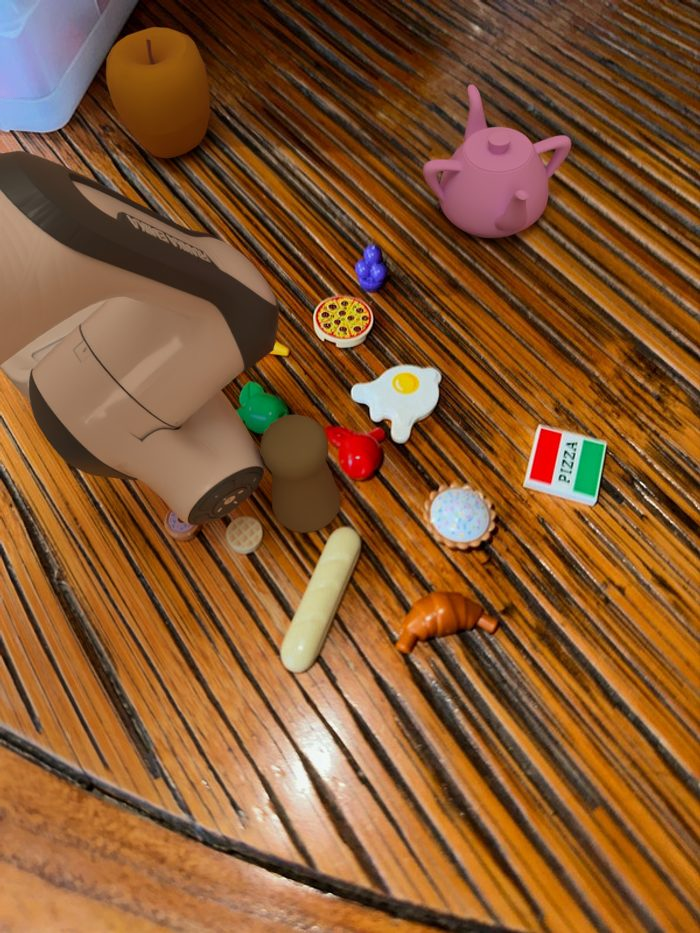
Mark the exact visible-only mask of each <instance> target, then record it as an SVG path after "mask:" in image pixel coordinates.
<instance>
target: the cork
mask: <svg viewBox="0 0 700 933" xmlns="http://www.w3.org/2000/svg"><path fill="white" fill-rule="evenodd" d="M328 454H329V440H328V437H327V434H326V432H325V430H324V428H323V427H322V426H321V425H320V424H319V423H318V422H317V421H316V420H315V419H312V418H311V417H309V416H306V415H301V414H286V415H283V416H280V417H278V418H277V419H275V420H274V421H272V422H271V423H270V424H269V425H268V426H267V427H266V429H265V430H264V432H263V434H262V436H261V440H260V456H261V458H262V460H263V464H264V466H265V467H266V468H267V469H268V470H269V471H270V472H271V509H272V511H273V514H274V517H275V519H276V520H277V521H278V522H279V524H280V525H281V526H283V527H285V529H288V530H289V531H293V532H297V533H301V534H302V533H305V534H306V533H313V532H316V531H317V532H318V531H319V530H322V529H324V528H325V527H327V526H328V525H330V524H331V523H332V522H333V521H334V520H335V518H336V516H337V515H338V513H339V511H340V507H341V493H340V490H339V488H338V486H337V483H336V481H335V478H334V476H333V474H332V472H331V469H330V468H329V465H328V463H327V457H328Z"/></svg>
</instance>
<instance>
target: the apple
mask: <svg viewBox="0 0 700 933" xmlns="http://www.w3.org/2000/svg"><path fill="white" fill-rule="evenodd" d="M207 74H208V73H207V68H206V65H205V63H204V61H203V58H202V55H201V54H200V51H199V49H198V47H197V45H196V43H195V41H194V40H193V39H192V38H191V37H190V36H189V35H188V34H186V33H183V32H180V31H178V30H175V29H171V28H169V27H158V26H153V27H149V28H145V29H142V30H139V31H136V32H133V33H131V34H127V35H126V36H124V37H123V38H121V39H120V40H119V41H117V42H116V43H115V44H114V45H113V46H112V48H111V50H110V51H109V53H108V55H107V57H106V67H105V77H106V78H105V79H106V86H107V89H108V91H109V95H110V98H111V102H112V105H113V107H114V109H115V111H116V112H117V115H118V116H119V118H120V120H121V121H122V123H123V124H124V125H125V127H126V128H127V130H129V132H130V133H131V135H132V136H133V137H134V138H135V139H136V141H137V142H138V143H139V144H140V146H141V147H143V148H144V149H145V150H147V151H148V152H149V153H150V154H151V155H152V156H153V157H155V158H162V159H173V158H177V157H179V156H183V155H185V154H187V153H189V152H190V151H192V150H194V149H195V148H196V147H197V146H199V145H200V144H201V143H202V141H203V140H204V137H205V136H206V134H207V130H208V125H209V120H210V115H211V98H210V97H211V96H210V84H209V78H208V75H207Z"/></svg>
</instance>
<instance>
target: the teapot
mask: <svg viewBox="0 0 700 933" xmlns="http://www.w3.org/2000/svg"><path fill="white" fill-rule="evenodd" d="M467 97H468V101H469V102H468V103H469V109H468V116H467V122H466V126H465V130H464V137H463V142H462V144H461V145H460V146H459V147H458V148H457V149H455V151H454V153H453V154H452V156H451V157H450V158H449V159H445V158H444V159H442V158H441V159H439V158H437V159H431V160H429V161H427V162H425V163H424V165H423V168H422V174H423V179H424V181H425V182H426V184H427V186H428V187H429V189H430V190H431V192H433V194H434V195H435V196H436V197H437V199H438V202H439V206H440V208H441V210H442V212H443V214H444V216H445V217H446V218H447V219H448V220H449V221H450V222H451V224H453V225H454V226H456V227H457V228H458V229H459V230H461V231H463V232H465V233H467V234H469V235H472V236H474V237H477V238H485V239H499V238H506V237H510V236H513V235H515V234H518V233H520V232H522V231H524V230H526V229H528V228H529V227H530V226H532V225H533V224H535V223H536V222H537V221H538V220H539V219H540V218H541V216H542V215H543V213H544V212H545V210H546V207H547V204H548V200H549V199H548V198H549V180H550V178H552V176H553V175H554V174H555V173H556V172H557V170H558V169H559V168H560V166H561V165H562V164H563V162H564V161H565V160H566V158H567V157H568V155H569V153H570V150H571V147H572V141H571V138H570V137H569V136H567V135H564V134H563V135H561V134H559V135H556V136H551V137H548V138H546V139H543V140H540V141H537V142H535V143H533V142H531V140H530V139H529V138H528V137H527V136H526V135H525V134H524V133H522V132H521V131H519V130H516V129H513V128H510V127H505V126H491V127H488V125H487V121H486V117H485V112H484V109H483V108H484V107H483V102H482V97H481V94H480V90H479V89H478V88H477V86H475V85H474V84H469V85H468V87H467ZM552 150H554V152H553V155H552V156H551V158H550V159H549V161H548V163H547V164H546V165H545V164H544V162H543V159H542V157H541V155H542V154H544V153H546V152H548V151H552ZM441 172H442V175H441V178H440V181H439V179H438V173H441Z"/></svg>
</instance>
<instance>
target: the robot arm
mask: <svg viewBox="0 0 700 933" xmlns="http://www.w3.org/2000/svg"><path fill="white" fill-rule="evenodd" d="M279 319H280V306H279V302H278V301H277V300H276V297H275V295H274V292H273V290H272V288H271V286H270V284H269V283H268V281H267V279H265V277H264V275H263V274H262V273H261V272H260V271H259V269H258V268H257V267H256V266H255V265H254V264H253V262H252V261H251V260H250V259H249V258H248V257H246V256H245V255H244V254H243V253H242V252H241V251H239V250H238V249H237V248H235V247H234V246H232V245H231V244H229V243H226V241H223V240H221V239H219V238H218V237H216V236H214V235H213V234H211V233H208V232H204V231H200V230H193V229H190V228H187V227H185V226H183V225H181V224H179V223H177V222H175V221H173V220H172V219H171V220H170V219H169V218H167V217H166V216H164V215H161V214H159V213H158V212H156V211H154V210H152V209H150V208H148V207H146V206H144V205H143V204H141V203H139V202H137V201H135V200H133V199H131V198H129V197H127V196H126V195H123V194H122V193H120V192H117V191H115V190H114V189H112V188H110V187H108V186H106V185H104V184H102V183H100V182H98V181H96V180H94V179H92V178H90V177H88V176H86V175H84V174H81V173H80V172H77V171H75V170H73V169H71V168H69V167H67V166H64V165H62V164H59V163H57V162H55V161H52V160H50V159H48V158H45V157H42V156H39V155H36V154H33V153H30V152H27V151H23V150H14V151H7V152H1V153H0V369H1V370H2V372H3V374H4V375H5V376H6V378H7V379H8V380H9V381H10V382H11V383H12V385H13V386H14V387H15V388H16V389H17V391H18V392H19V393H20V394H21V395H22V397H23V398H24V399H25V400H26V401H27V402H28V403H29V404H30V407H31V410H32V416H33V418H34V420H35V422H36V424H37V427H38V428H39V430H40V431H41V433H42V434H43V437H44V438H45V439H46V440H47V442H48V443H49V444H50V446H51V447H52V449H53V450H55V452H56V453H57V454H58V455H59V456H60V457H61V458H62V459H63V460H64V461H65V462H66V463H67V464H69V465H70V466H72V467H73V468H75V469H76V470H78V471H81V472H82V473H84V474H87V475H91V476H94V477H101V478H108V479H109V478H110V479H118V480H126V481H140V482H141V483H142V484H144V485H145V486H147V487H148V488H149V489H150V490H151V491H153V492H154V494H156V495H157V496H158V497H159V499H161V500H162V501H163V502H164V503H165V504H166V506H167V507H168V508H169V509H170V510H171V511H172V513H174V515H175V516H176V517H177V518H178V519H179V520H180V521H182V522H183V523H184V524H187V525H189V526H194V527H195V526H196V527H197V526H202V525H208V524H211V523H214V522H216V521H218V520H219V519H222V518H224V517H226V516H228V515H229V514H231V513H232V512H233V511H234V510H236V509H237V508H238V507H239V506H240V505H242V504H243V503H244V502H245V501H246V500H248V498H250V496H251V495H253V494H254V493H255V492H256V490H257V489H258V487H259V486H260V484H261V482H262V480H263V479H264V476H265V472H266V466H265V463H264V460H263V458H262V455H261V452H260V451H259V448H258V446H257V445H256V442H255V441H254V440H253V437H252V436H251V434H250V431H249V429H248V427H247V426H246V424H245V423H244V421H243V419H242V418H241V416H240V414H239V413H238V411H237V410H236V409H235V407H234V405H233V404H232V403H231V401H230V400H229V399H228V397H227V395H226V394H225V393H224V392H223V389H224V388H225V387H226V386H228V385H229V384H230V383H231V382H233V380H235V379H236V378H237V377H238V376H239V375H241V374H243V373H245V372H247V371H248V370H249V369H251V368H253V366H255V365H256V364H258V362H260V361H261V360H263V359H264V358H265V357H266V356H268V355H269V354H271V353H272V352H273V351H274V350H275V345H276V341H277V335H278V331H279V330H278V329H279V321H280V320H279Z"/></svg>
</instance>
